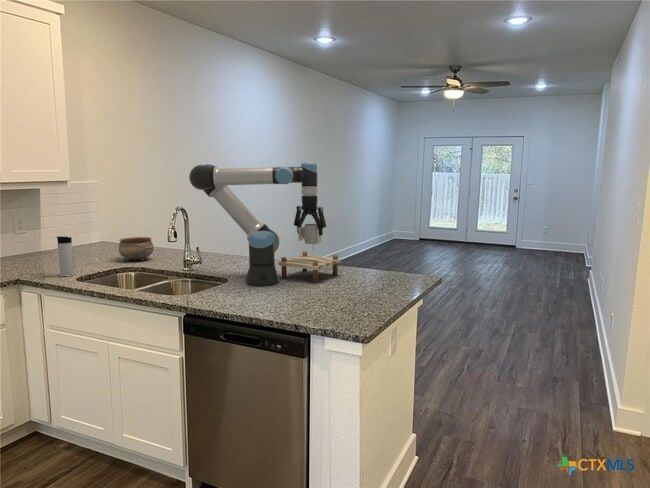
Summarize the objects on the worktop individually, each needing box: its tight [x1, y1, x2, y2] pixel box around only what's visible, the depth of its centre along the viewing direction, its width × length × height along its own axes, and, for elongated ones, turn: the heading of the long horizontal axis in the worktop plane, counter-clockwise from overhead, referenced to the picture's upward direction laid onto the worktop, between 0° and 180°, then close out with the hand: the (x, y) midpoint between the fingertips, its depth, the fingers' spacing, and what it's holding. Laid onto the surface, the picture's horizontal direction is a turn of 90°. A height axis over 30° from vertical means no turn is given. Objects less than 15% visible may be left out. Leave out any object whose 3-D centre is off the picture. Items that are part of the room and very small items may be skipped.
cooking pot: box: [118, 236, 155, 261], centre depth 287 cm, size 25×19×12 cm
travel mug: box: [56, 236, 75, 276], centre depth 246 cm, size 6×7×20 cm
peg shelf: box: [277, 251, 341, 284], centre depth 244 cm, size 22×22×10 cm
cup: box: [302, 223, 319, 245], centre depth 242 cm, size 7×10×9 cm
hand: (309, 241), depth 242 cm, fingers closed on cup, 10 cm apart
